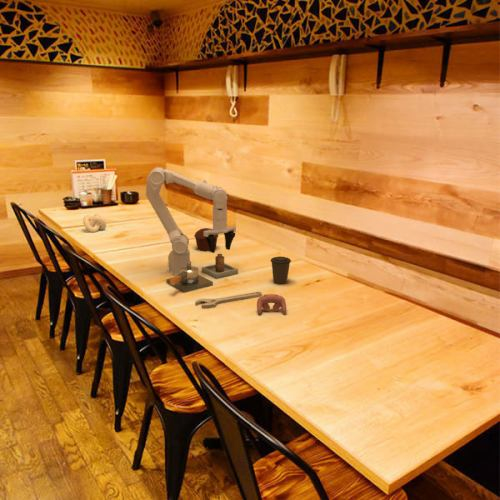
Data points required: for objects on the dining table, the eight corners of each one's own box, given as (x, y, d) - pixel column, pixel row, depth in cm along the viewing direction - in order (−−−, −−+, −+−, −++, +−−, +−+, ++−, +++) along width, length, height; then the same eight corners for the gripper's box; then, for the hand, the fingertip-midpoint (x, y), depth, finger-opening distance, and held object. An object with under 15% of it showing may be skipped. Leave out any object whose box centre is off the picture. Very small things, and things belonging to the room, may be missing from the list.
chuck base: (166, 282, 183) (166, 279, 183) (194, 276, 191) (194, 272, 191) (183, 292, 174) (183, 289, 173) (212, 285, 181) (212, 281, 181)
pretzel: (82, 229, 264) (81, 213, 262) (104, 227, 269) (103, 211, 267) (84, 233, 254) (83, 217, 252) (107, 231, 259) (106, 215, 257)
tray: (201, 271, 196) (201, 267, 196) (223, 267, 203) (222, 262, 202) (216, 279, 188) (216, 274, 188) (238, 273, 195) (238, 269, 194)
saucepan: (185, 276, 186) (185, 258, 184) (201, 278, 184) (201, 260, 182) (164, 290, 171) (163, 270, 169) (181, 292, 169) (180, 273, 167)
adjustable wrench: (259, 295, 174) (260, 290, 173) (266, 301, 168) (267, 296, 168) (194, 303, 165) (194, 299, 164) (199, 310, 159) (199, 306, 159)
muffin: (220, 246, 234) (220, 226, 231) (216, 252, 223) (216, 232, 221) (196, 245, 235) (196, 225, 232) (192, 251, 224) (191, 231, 222)
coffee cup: (289, 286, 181) (289, 261, 179) (268, 284, 183) (268, 260, 180) (291, 279, 189) (292, 255, 186) (271, 277, 190) (272, 254, 188)
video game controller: (285, 314, 160) (284, 294, 161) (287, 314, 155) (286, 293, 156) (256, 315, 159) (256, 294, 160) (257, 314, 155) (257, 293, 156)
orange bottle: (213, 270, 195) (213, 254, 193) (220, 268, 198) (220, 252, 195) (219, 273, 193) (219, 256, 191) (225, 271, 195) (226, 254, 193)
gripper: (210, 222, 182) (210, 256, 186) (240, 217, 191) (240, 250, 194) (200, 219, 187) (201, 252, 191) (230, 214, 196) (230, 246, 200)
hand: (220, 250), depth 193 cm, fingers open, 7 cm apart
